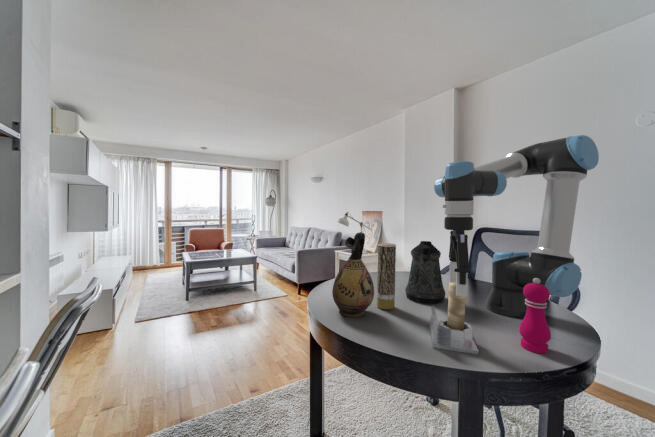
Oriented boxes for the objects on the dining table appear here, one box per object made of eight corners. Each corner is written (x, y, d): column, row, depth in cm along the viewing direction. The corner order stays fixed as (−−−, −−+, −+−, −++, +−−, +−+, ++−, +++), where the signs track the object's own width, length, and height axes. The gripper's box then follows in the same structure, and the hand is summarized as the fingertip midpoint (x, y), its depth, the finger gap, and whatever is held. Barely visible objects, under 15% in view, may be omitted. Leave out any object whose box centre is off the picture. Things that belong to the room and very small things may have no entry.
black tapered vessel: (433, 292, 132) (434, 239, 131) (457, 306, 113) (459, 244, 112) (399, 293, 130) (400, 239, 129) (418, 307, 111) (419, 244, 110)
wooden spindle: (461, 335, 84) (464, 283, 83) (464, 342, 80) (467, 287, 79) (445, 333, 85) (448, 281, 85) (447, 340, 81) (450, 285, 80)
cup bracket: (469, 335, 87) (470, 309, 87) (478, 354, 75) (479, 325, 75) (430, 330, 90) (430, 305, 90) (432, 347, 79) (433, 319, 78)
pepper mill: (512, 342, 83) (515, 275, 82) (535, 341, 83) (538, 274, 83) (532, 355, 75) (535, 281, 75) (557, 354, 76) (560, 281, 75)
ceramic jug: (364, 324, 94) (366, 235, 93) (324, 315, 102) (325, 232, 101) (380, 308, 109) (382, 232, 108) (345, 302, 116) (346, 230, 115)
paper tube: (393, 304, 114) (394, 243, 113) (395, 310, 107) (397, 245, 106) (376, 304, 115) (377, 243, 114) (377, 310, 108) (378, 245, 107)
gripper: (440, 214, 94) (439, 277, 95) (450, 217, 70) (449, 301, 71) (464, 214, 92) (464, 278, 93) (483, 217, 68) (482, 303, 69)
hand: (457, 288), depth 82 cm, fingers open, 13 cm apart
